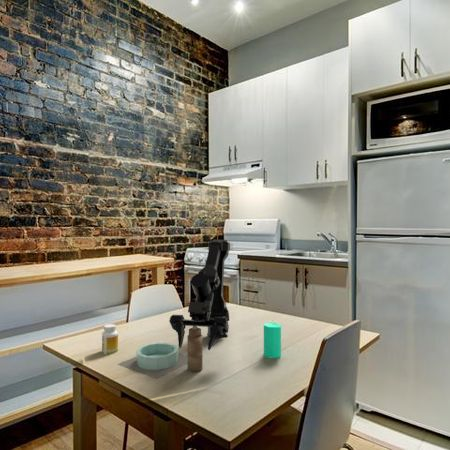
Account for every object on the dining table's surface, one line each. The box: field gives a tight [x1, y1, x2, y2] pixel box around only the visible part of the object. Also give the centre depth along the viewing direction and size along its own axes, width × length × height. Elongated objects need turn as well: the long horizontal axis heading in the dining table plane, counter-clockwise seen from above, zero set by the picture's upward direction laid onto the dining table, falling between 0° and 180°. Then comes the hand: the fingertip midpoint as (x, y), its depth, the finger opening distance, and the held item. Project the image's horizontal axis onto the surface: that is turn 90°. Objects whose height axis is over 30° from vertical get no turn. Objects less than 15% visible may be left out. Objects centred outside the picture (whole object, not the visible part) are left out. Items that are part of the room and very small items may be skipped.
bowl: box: [136, 342, 179, 370], centre depth 115 cm, size 13×13×4 cm
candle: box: [263, 320, 282, 359], centre depth 122 cm, size 6×6×12 cm
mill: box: [187, 326, 203, 374], centre depth 108 cm, size 5×5×14 cm
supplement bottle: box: [101, 323, 119, 355], centre depth 124 cm, size 5×5×10 cm
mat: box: [117, 352, 188, 379], centre depth 115 cm, size 18×18×1 cm
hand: (194, 348), depth 108 cm, fingers open, 9 cm apart
